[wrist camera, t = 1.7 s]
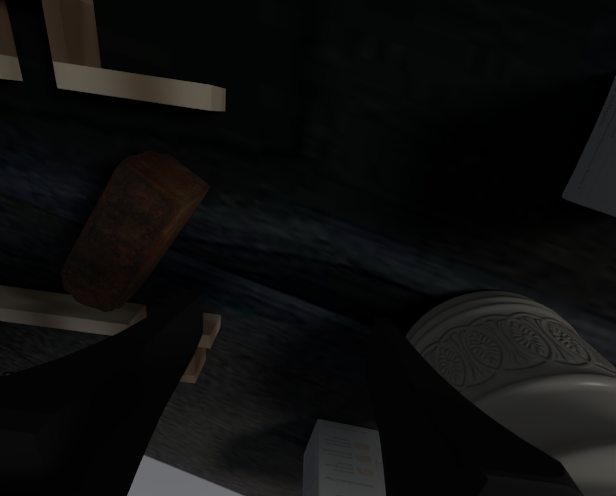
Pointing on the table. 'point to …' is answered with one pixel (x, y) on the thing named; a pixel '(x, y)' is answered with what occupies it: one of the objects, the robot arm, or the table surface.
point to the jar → (528, 378)
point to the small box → (343, 461)
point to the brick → (131, 229)
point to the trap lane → (92, 79)
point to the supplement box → (597, 164)
